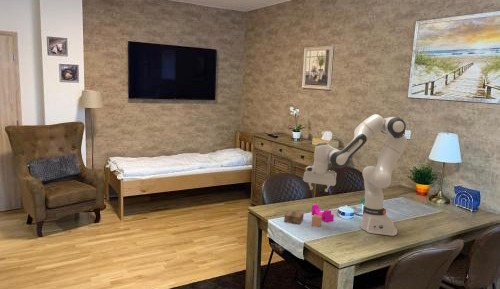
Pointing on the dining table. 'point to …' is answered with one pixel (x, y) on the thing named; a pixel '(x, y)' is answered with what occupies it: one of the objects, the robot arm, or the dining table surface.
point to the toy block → (322, 213)
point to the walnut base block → (293, 217)
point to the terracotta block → (316, 220)
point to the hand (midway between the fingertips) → (318, 190)
